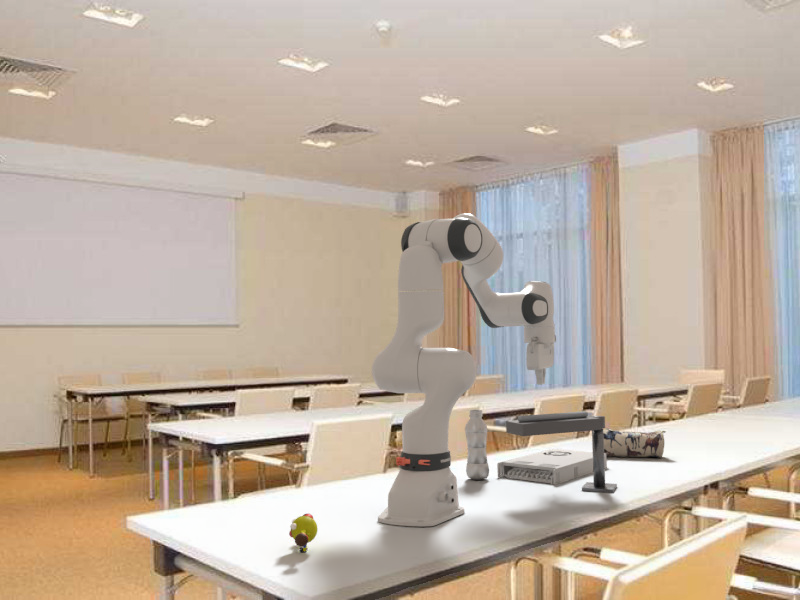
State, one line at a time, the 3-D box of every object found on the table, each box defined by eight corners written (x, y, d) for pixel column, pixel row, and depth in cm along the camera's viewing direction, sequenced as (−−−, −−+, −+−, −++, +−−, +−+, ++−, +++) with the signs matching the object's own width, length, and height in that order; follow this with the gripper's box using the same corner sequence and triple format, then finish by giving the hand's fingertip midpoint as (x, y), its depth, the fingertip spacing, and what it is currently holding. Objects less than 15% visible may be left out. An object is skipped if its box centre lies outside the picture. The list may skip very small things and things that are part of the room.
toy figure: (293, 539, 156) (293, 506, 157) (320, 538, 157) (319, 505, 157) (285, 565, 138) (284, 528, 139) (315, 564, 139) (314, 527, 139)
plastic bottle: (488, 481, 213) (486, 411, 214) (464, 481, 214) (463, 411, 215) (490, 477, 219) (488, 409, 220) (467, 477, 221) (465, 409, 222)
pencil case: (597, 458, 250) (596, 428, 251) (599, 454, 258) (598, 425, 259) (667, 460, 243) (666, 430, 244) (666, 456, 251) (665, 426, 252)
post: (612, 492, 195) (610, 431, 196) (581, 490, 198) (579, 430, 199) (616, 486, 202) (614, 427, 203) (586, 485, 205) (584, 426, 206)
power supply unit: (497, 480, 219) (497, 462, 219) (553, 464, 244) (552, 448, 244) (554, 487, 207) (554, 469, 207) (607, 469, 232) (606, 453, 232)
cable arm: (594, 425, 205) (593, 408, 206) (613, 428, 198) (612, 411, 198) (506, 432, 195) (505, 414, 195) (522, 436, 187) (522, 417, 187)
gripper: (542, 337, 207) (544, 387, 207) (557, 336, 226) (558, 382, 226) (520, 337, 210) (521, 386, 209) (536, 336, 229) (537, 382, 228)
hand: (540, 384), depth 217 cm, fingers closed
